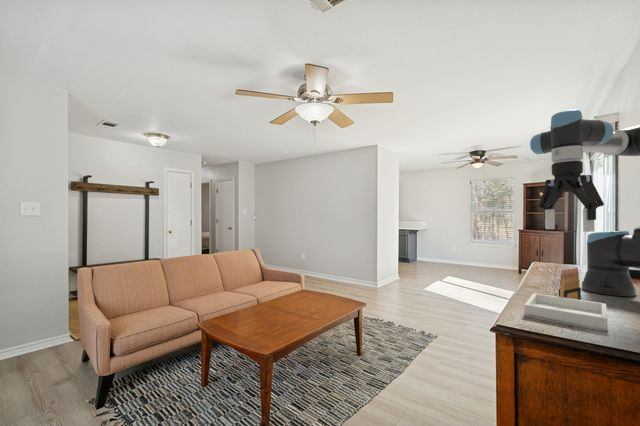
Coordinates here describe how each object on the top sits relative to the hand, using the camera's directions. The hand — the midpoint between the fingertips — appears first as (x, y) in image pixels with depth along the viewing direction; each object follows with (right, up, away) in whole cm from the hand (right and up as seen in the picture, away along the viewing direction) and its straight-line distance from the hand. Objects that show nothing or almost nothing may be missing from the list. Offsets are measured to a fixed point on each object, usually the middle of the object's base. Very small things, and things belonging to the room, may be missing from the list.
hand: (568, 230), depth 94 cm
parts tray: (-3, -26, -3) cm, 26 cm away
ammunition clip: (+9, -26, +10) cm, 29 cm away
